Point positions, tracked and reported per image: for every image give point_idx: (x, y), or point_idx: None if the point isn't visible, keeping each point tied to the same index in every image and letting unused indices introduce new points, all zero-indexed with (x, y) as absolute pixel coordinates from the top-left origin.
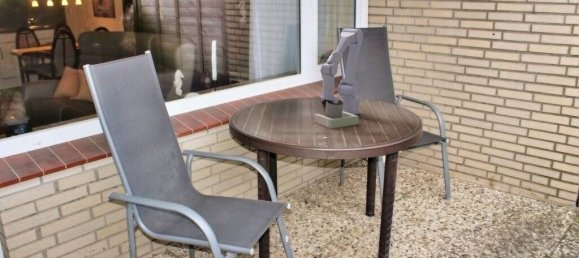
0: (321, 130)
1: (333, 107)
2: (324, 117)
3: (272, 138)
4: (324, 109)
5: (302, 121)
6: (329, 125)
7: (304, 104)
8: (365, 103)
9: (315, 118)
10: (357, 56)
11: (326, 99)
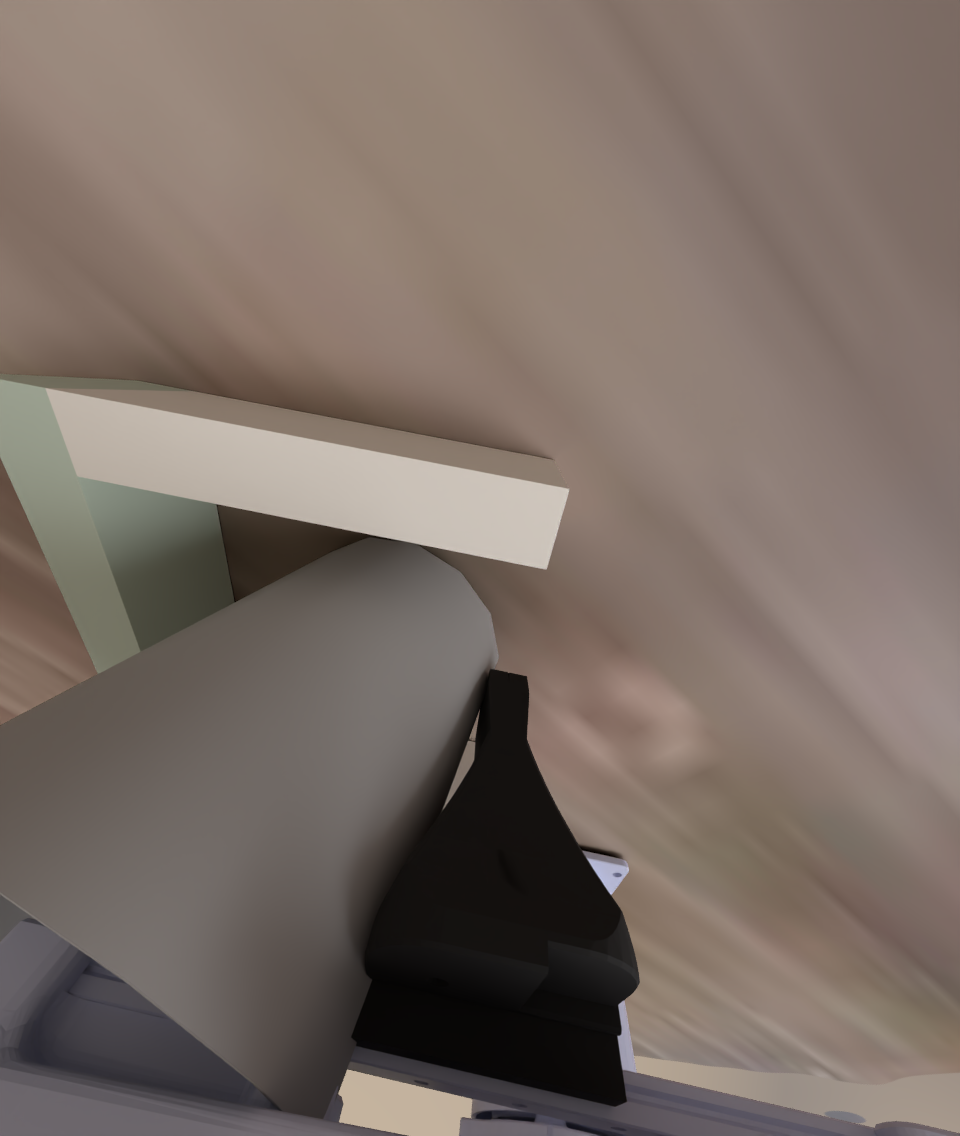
0: (67, 130)
1: None
2: (220, 436)
3: None
4: (524, 739)
5: (755, 318)
6: (144, 388)
7: None
8: (629, 1027)
9: (532, 466)
10: None
11: (288, 1124)
